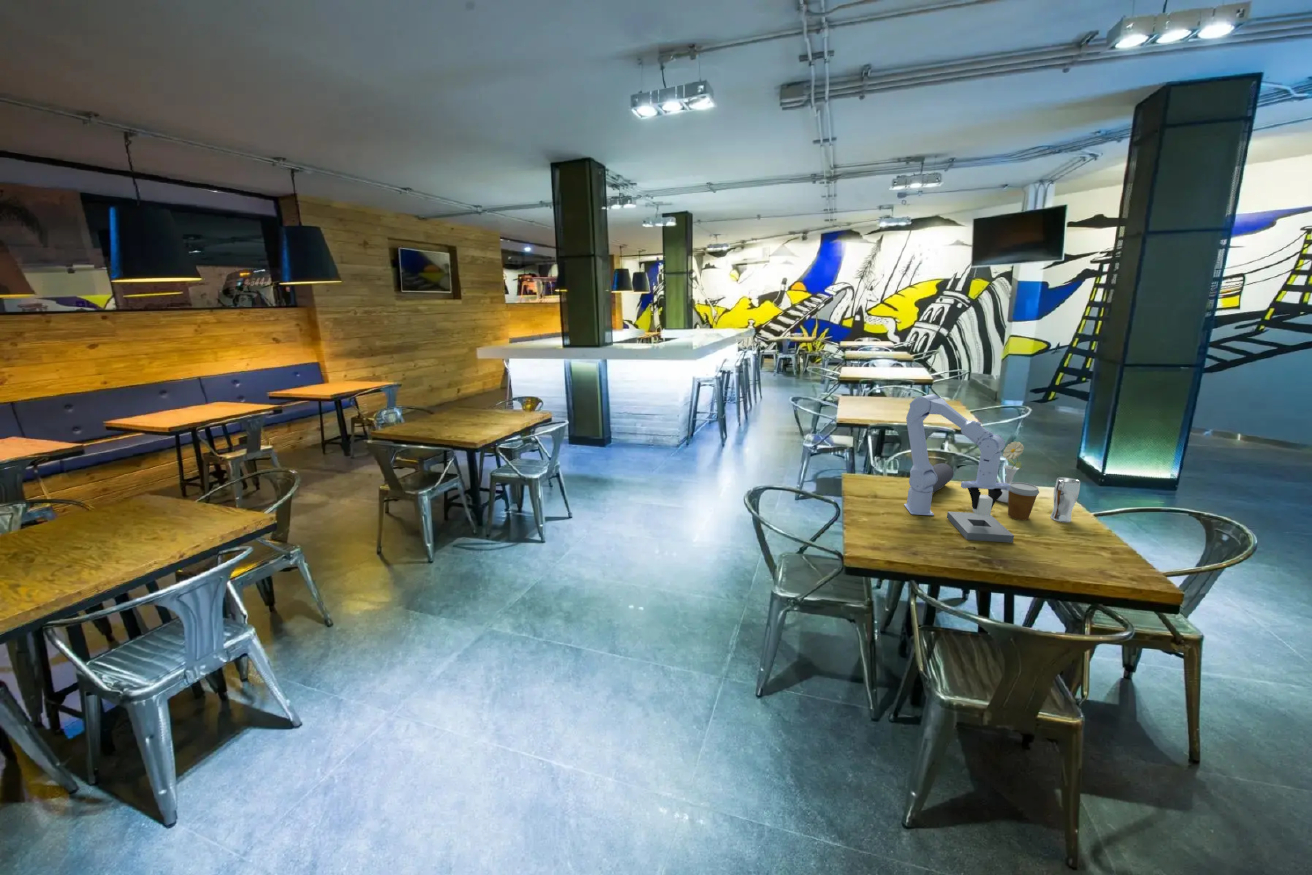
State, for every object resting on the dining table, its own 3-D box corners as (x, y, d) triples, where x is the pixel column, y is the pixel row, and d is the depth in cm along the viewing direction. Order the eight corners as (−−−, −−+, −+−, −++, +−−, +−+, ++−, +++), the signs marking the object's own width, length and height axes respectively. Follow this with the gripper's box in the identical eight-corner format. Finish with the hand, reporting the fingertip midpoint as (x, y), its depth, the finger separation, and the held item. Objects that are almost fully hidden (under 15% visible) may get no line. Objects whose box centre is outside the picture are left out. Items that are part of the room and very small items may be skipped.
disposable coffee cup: (1040, 522, 185) (1046, 490, 182) (1013, 522, 185) (1019, 490, 182) (1022, 511, 194) (1027, 481, 191) (996, 511, 194) (1002, 481, 191)
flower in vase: (985, 493, 212) (995, 434, 206) (1017, 496, 209) (1028, 437, 202) (994, 505, 200) (1005, 443, 194) (1028, 508, 197) (1041, 445, 190)
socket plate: (946, 517, 189) (947, 511, 188) (988, 520, 187) (989, 513, 186) (966, 539, 172) (967, 532, 171) (1012, 542, 170) (1014, 535, 169)
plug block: (972, 510, 180) (975, 494, 178) (984, 511, 179) (987, 494, 178) (977, 514, 176) (979, 498, 174) (990, 515, 175) (992, 499, 174)
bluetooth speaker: (929, 481, 227) (932, 459, 224) (953, 486, 220) (956, 464, 218) (909, 494, 212) (912, 471, 209) (933, 500, 205) (936, 476, 203)
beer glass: (1069, 517, 189) (1078, 478, 185) (1075, 524, 183) (1084, 484, 179) (1046, 514, 192) (1054, 475, 188) (1051, 521, 186) (1059, 481, 182)
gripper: (969, 473, 171) (963, 511, 175) (1017, 475, 169) (1010, 514, 172) (960, 467, 178) (955, 503, 181) (1007, 469, 176) (1000, 506, 179)
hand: (981, 508), depth 177 cm, fingers closed on plug block, 4 cm apart
